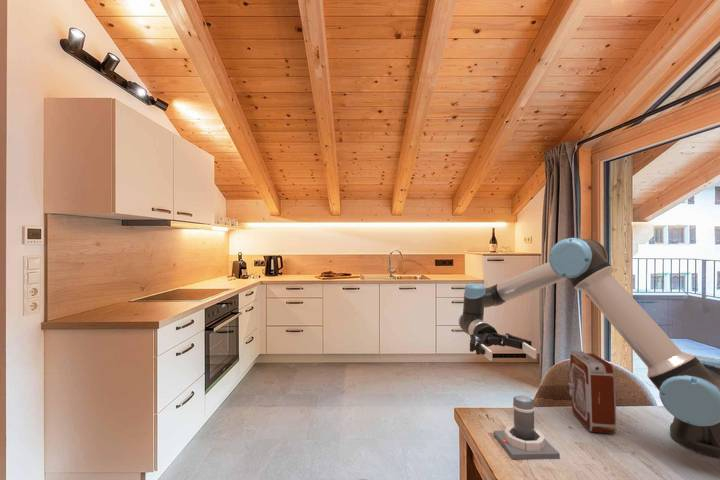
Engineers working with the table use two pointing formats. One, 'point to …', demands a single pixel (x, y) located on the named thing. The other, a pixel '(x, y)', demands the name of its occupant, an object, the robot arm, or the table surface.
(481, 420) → the table surface
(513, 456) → the mount plate
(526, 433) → the lens
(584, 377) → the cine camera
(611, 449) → the table surface
